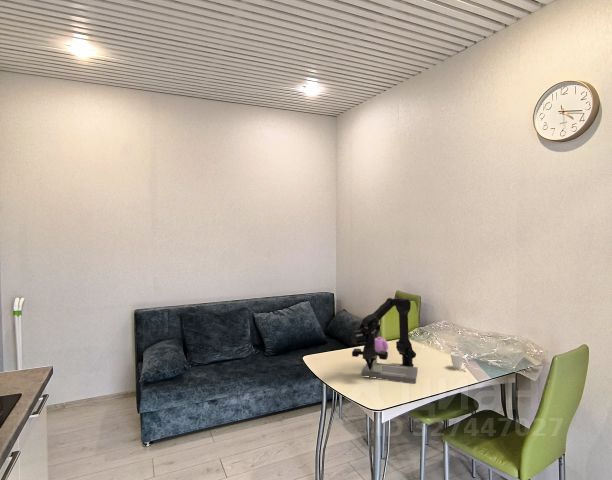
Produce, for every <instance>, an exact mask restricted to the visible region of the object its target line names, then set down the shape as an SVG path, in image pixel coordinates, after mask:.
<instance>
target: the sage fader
mask: <svg viewBox="0 0 612 480" xmlns="http://www.w3.org/2000/svg"><path fill="white" fill-rule="evenodd" d="M382 364H383V363H381V362H377V363H374V364H373V372H379V373H381V371H382Z"/></svg>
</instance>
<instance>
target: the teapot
mask: <svg viewBox="0 0 612 480" xmlns="http://www.w3.org/2000/svg"><path fill="white" fill-rule="evenodd" d="M388 349H389V343H388V342H387V340H386V339H385V338H383V337H382V336H378V337H375V350H376V353H380V351H387V352H388Z"/></svg>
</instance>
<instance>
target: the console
mask: <svg viewBox="0 0 612 480" xmlns="http://www.w3.org/2000/svg"><path fill="white" fill-rule="evenodd" d="M418 368H419V367H416V366H413V367H409V366H402V365H397V364H391V363H390V364H389V363H382V371H381V373H379V372H373V365H372V368H371V370H369V367H368V365H367V363H366V364H365V366H364V367H363V369H362V372H361V377H362V376H369V377H376V378H382V379H381V380H383V379H388V380H387V381H391V380H395V381H394V382H399V381H403V382H402V383H408V382H413V383H412V384H416V383H417V378H418Z"/></svg>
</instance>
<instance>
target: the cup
mask: <svg viewBox="0 0 612 480" xmlns="http://www.w3.org/2000/svg"><path fill="white" fill-rule="evenodd" d="M464 356H465V355H464V353H462V352H460V351H453V352H451V353H450V358H451V359H450V360H451V364H452V368H453V369H455V370H458V371H459V370H461V371H462V370H464V369H467V368H468V367H469V361H468V359H467V358H466V357H464ZM463 360H465V361H466V367H464V368H462V366H463V362H464V361H463Z"/></svg>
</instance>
